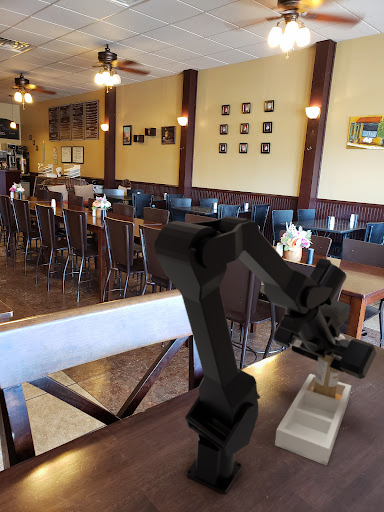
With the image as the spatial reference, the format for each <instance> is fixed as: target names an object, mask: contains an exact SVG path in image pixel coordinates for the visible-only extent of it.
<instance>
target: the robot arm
mask: <svg viewBox="0 0 384 512" xmlns="http://www.w3.org/2000/svg"><path fill="white" fill-rule="evenodd" d="M153 246H154V247H153V248H154V253H155V256H156V258H157V260H158V262H159V264H160V266H161V269H162V270H163V272H164V274H165V275H166V277H167V278H168V279H169V281H170V282H171V283H172V284H173V286H174V287H175V288H176V289H177V290H178V291H179V293H180V295H181V297H182V301H183V304H184V308H185V312H186V315H187V318H188V322H189V325H190V330H191V332H192V333H191V334H192V337H193V339H194V340H193V341H194V344H195V347H196V351H197V355H198V359H199V363H200V367H201V370H202V373H203V378H202V380H201V381H200V384H199V385H198V394H199V395H198V397H197V398H196V399H195V401H194V403H193V404H192V406H191V407H190V409H189V410H188V412H187V414H186V415H185V417H184V419H185V422H186V426H187V428H188V429H191V430H193V431H194V432H195V433H197V434H198V435H197V445H196V446H197V447H196V459H195V460H194V462H193V463H191V465H190V466H189V468H188V469H187V470H186V472H185V474H186V477H188V478H190V479H192V480H194V481H196V482H198V483H201V484H202V485H204V486H207V487H209V488H210V489H213V490H215V491H217V492H219V493H221V494H226V493H227V492H228V491H229V489H230V488H231V486H232V484H233V483H234V481H235V479H236V478H237V477H238V475H239V474H240V472H241V470H242V467H243V465H242V463H240V462H239V461H236V453H237V452H238V451H240V450H242V449H243V448H245V447H246V446H248V445H249V444H250V442H251V438H252V435H253V433H254V430H255V427H256V423H257V420H258V416H259V402H258V401H259V400H260V398H261V396H260V394H259V393H258V388H257V387H258V385H257V384H258V383H257V381H256V378H255V376H253V375H251V374H249V373H247V372H245V371H244V370H242V369H240V368H239V367H238V364H237V359H236V356H235V355H236V354H235V350H234V345H233V341H232V337H231V333H230V329H229V323H228V320H227V315H226V312H225V311H226V310H225V306H224V302H223V298H222V292H221V287H220V286H221V284H222V282H223V280H224V276H225V274H226V273H227V271H228V270H227V269H228V268H227V267H228V265H227V264H229V263H232V262H235V261H237V260H238V259H239V260H240V261H241V263H243V264H244V265H245V266H246V268H247V269H249V271H251V273H252V274H254V275H255V276H256V277H257V278H258V279H259V281H261V282H262V284H263V289H262V290H263V293H264V294H265V296H266V297H267V299H268V300H269V302H270V304H273V305H275V306H278V307H281V308H284V309H285V311H284V314H283V317H282V318H281V320H280V322H279V324H278V325H277V328H276V329H275V331H273V336H272V337H273V341H274V342H275V344H276V345H278V346H280V347H283V348H285V349H289V348H290V347H291V346H292V347H291V351H292V352H293V353H294V354H295V353H296V354H297V355H301V356H303V357H306V358H308V359H310V360H314V361H316V362H318V356H319V357H322V358H324V357H325V356H326V355H327V356H329V357H334V356H335V357H334V359H333V361H332V363H331V365H330V367H331V368H333V369H336V370H338V371H339V372H340V373H345V374H347V375H350V376H352V377H354V378H357V379H359V380H362V379H365V378H366V376H367V374H368V372H369V370H370V368H371V366H372V364H373V362H374V359H375V358H376V355H377V351H376V348H375V346H374V344H372V343H370V342H366V341H364V340H361V339H358V338H355V337H354V338H352V339H351V340H348V339H347V338H345V339H341V340H336V339H335V337H337V338H338V337H339V335H340V334H341V333H342V332H341V329H340V328H341V327H342V326H343V325H344V323H345V322H346V321H348V320H349V313H348V312H349V310H348V304H347V303H346V302H344V301H343V302H342V301H339V300H335V298H337V295H338V294H339V292H340V289H341V288H342V286H343V284H344V283H345V281H346V280H347V274H346V272H345V271H343V269H341V268H340V267H339V266H337V265H335V264H333V263H332V262H331V259H326V258H321V257H319V259H318V261H317V262H316V264H315V266H314V268H313V270H312V271H311V273H310V274H309V275H307V274H306V273H303V272H300V271H299V270H296V269H294V268H293V267H291V266H290V265H289V264H288V262H286V260H285V259H284V258H283V256H282V255H280V253H279V252H278V250H276V248H274V246H273V245H272V244H271V243H270V242H269V240H268V239H267V238H266V237H265V236H264V235H263V234H262V232H261V231H260V227H259V225H258V224H257V222H255V221H253V220H252V219H250V218H244V217H238V216H237V217H236V216H230V215H227V216H224V217H220V218H216V219H211V220H202V221H193V222H184V221H177V220H173V221H170V222H167V223H166V224H165V225H164V226H162V228H161V229H160V231H159V232H158V235H157V237H156V238H155V240H154V245H153Z"/></svg>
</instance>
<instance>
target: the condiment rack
mask: <svg viewBox="0 0 384 512" xmlns="http://www.w3.org/2000/svg"><path fill="white" fill-rule="evenodd" d="M315 376H316V374H312V373H309V375H308V376H307V378H306V380H305V381H304V383H303V385H302V386H301V388H300V390H299V392H298V393H297V394H296V397H295V398H294V399H293V401H292V403H291V404H290V406H289V408H288V410H287V412H286V413H285V415H284V416H283V418H282V420H281V421H280V423H279V425H278V426H277V428H276V432H275V439H274V440H275V441H274V446H276V447H278V448H281V449H283V450H287V451H289V452H291V453H293V454H295V455H298V456H301V457H304V458H306V459H309V460H311V461H314V462H316V463H319V464H321V465H323V466H328V463H329V461H330V458H331V454H332V453H333V448H334V445H335V442H336V439H337V437H338V433H339V431H340V427H341V425H342V422H343V418H344V416H345V413H346V411H347V410H346V409H347V406H348V404H349V400H350V397H351V390H352V385H350V384H348V383H344V382H340V381H338V383H337V387H336V393H335V396H336V397H335V399H334V398H331V397H328V396H324V395H321V394H318V393H315V392H313V390H314V385H315Z"/></svg>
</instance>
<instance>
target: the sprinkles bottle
mask: <svg viewBox="0 0 384 512" xmlns="http://www.w3.org/2000/svg"><path fill="white" fill-rule="evenodd" d="M335 339H336V340H341V339H346V337H345V336H344V335H343V334H341V333H340V335H339V337H338V338H337V337H335ZM334 357H335V356H334ZM334 357H329V356H327V355H326V356H325V357H324V358H322V357H319V356H318V361H316V362H317V364H316V369H315V375H316V376H315V385H314V390H313V392H315V393H318V394H321V395H324V396H328V397H331V398H334V399H335V397H336V396H335V393H336V387H337V383H338V382H339V376H340V371H338V370H336V369H333V368H331V367H330V365H331V363H332V361H333V359H334Z"/></svg>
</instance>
